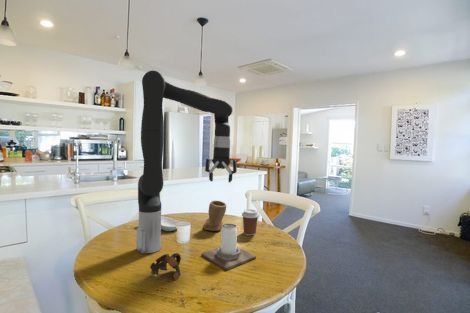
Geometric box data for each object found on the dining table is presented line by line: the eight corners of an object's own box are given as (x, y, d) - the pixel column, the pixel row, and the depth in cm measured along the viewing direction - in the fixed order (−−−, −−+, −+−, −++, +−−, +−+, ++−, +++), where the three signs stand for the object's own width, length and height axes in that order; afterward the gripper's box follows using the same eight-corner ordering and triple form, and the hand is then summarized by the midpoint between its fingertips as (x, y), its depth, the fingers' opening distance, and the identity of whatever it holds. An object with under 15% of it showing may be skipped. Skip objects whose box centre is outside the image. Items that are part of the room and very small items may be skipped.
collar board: (226, 270, 94) (226, 262, 94) (201, 255, 106) (201, 248, 105) (255, 258, 105) (256, 251, 105) (230, 246, 116) (230, 239, 116)
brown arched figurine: (173, 287, 83) (160, 266, 82) (154, 291, 87) (141, 271, 87) (191, 262, 94) (180, 244, 93) (174, 267, 98) (163, 249, 97)
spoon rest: (184, 227, 140) (185, 214, 140) (174, 234, 129) (174, 220, 129) (147, 222, 147) (147, 210, 146) (134, 229, 135) (134, 215, 135)
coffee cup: (261, 232, 135) (262, 210, 135) (253, 238, 127) (254, 214, 127) (246, 229, 140) (247, 207, 139) (237, 234, 132) (238, 211, 132)
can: (224, 258, 101) (225, 229, 100) (218, 252, 107) (219, 224, 106) (238, 256, 104) (240, 227, 103) (232, 250, 110) (233, 222, 109)
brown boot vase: (224, 233, 133) (225, 204, 132) (202, 232, 133) (203, 203, 133) (226, 224, 148) (227, 198, 148) (206, 223, 149) (207, 197, 148)
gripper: (238, 147, 119) (236, 181, 120) (208, 146, 121) (207, 179, 122) (235, 147, 111) (234, 183, 112) (204, 146, 114) (203, 181, 114)
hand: (220, 181), depth 117 cm, fingers open, 8 cm apart
